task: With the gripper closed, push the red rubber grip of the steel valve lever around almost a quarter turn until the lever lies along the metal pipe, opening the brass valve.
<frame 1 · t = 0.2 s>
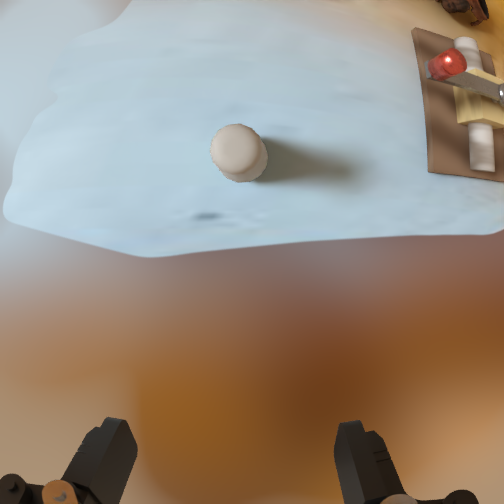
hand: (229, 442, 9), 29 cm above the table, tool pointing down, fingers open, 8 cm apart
pottery mug: (451, 7, 27), on the table
salt shaker: (243, 158, 35), on the table
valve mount: (463, 105, 32), on the table
valve lever: (483, 80, 21), point 12 cm above the table, hinge at 0.0°
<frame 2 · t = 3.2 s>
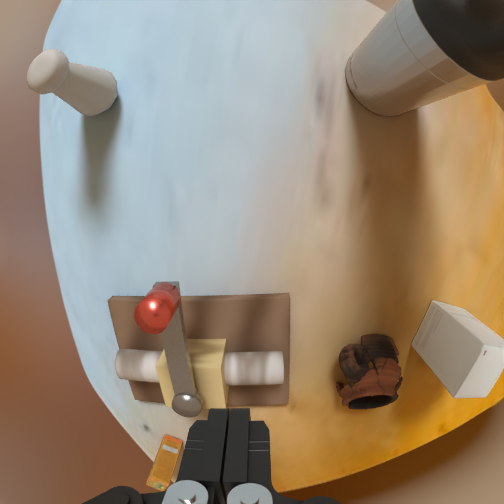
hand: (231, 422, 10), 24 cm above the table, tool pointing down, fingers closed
pottery mug: (360, 358, 37), on the table
salt shaker: (104, 96, 29), on the table
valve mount: (202, 353, 37), on the table
supplement box: (171, 440, 42), on the table
supplement box 2: (437, 326, 36), on the table
valve lever: (172, 367, 24), point 12 cm above the table, hinge at 0.0°
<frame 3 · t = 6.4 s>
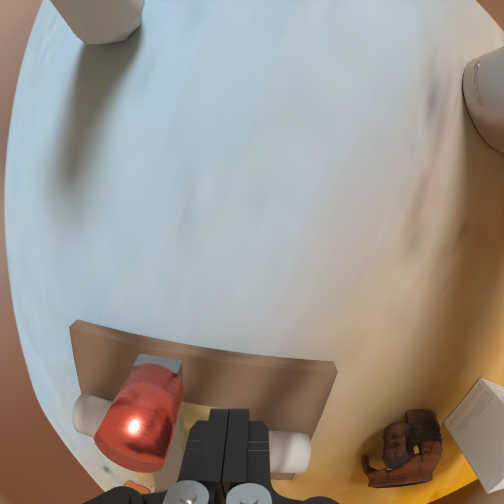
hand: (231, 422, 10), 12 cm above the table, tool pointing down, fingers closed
pottery mug: (395, 433, 26), on the table
salt shaker: (120, 24, 17), on the table
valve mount: (194, 415, 24), on the table
supplement box: (135, 486, 29), on the table
supplement box 2: (473, 403, 25), on the table
valve lever: (160, 480, 12), point 12 cm above the table, hinge at 2.3°, touching gripper
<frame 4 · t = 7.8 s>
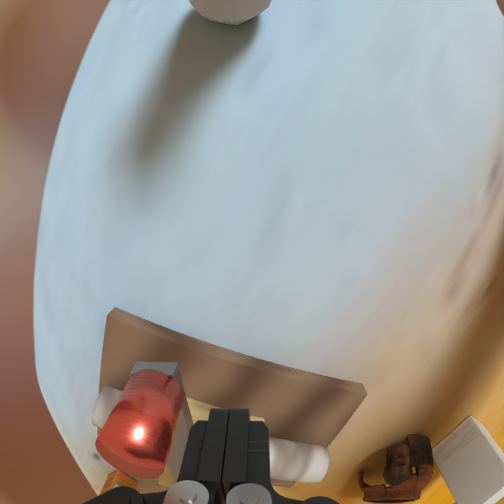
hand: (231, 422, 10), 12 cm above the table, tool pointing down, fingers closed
pottery mug: (391, 453, 27), on the table
salt shaker: (233, 6, 16), on the table
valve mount: (216, 418, 24), on the table
supplement box: (122, 476, 28), on the table
supplement box 2: (457, 437, 27), on the table
valve lever: (180, 486, 12), point 12 cm above the table, hinge at 24.3°, touching gripper
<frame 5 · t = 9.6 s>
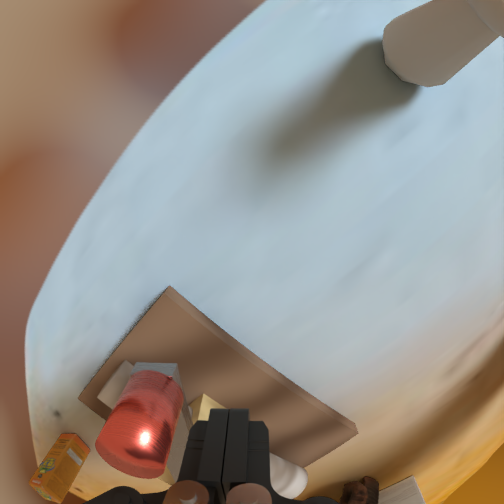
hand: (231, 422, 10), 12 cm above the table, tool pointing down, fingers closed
pottery mug: (343, 488, 29), on the table
salt shaker: (404, 60, 17), on the table
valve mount: (215, 418, 24), on the table
supplement box: (75, 439, 27), on the table
supplement box 2: (393, 491, 30), on the table
valve lever: (180, 486, 12), point 12 cm above the table, hinge at 47.0°, touching gripper
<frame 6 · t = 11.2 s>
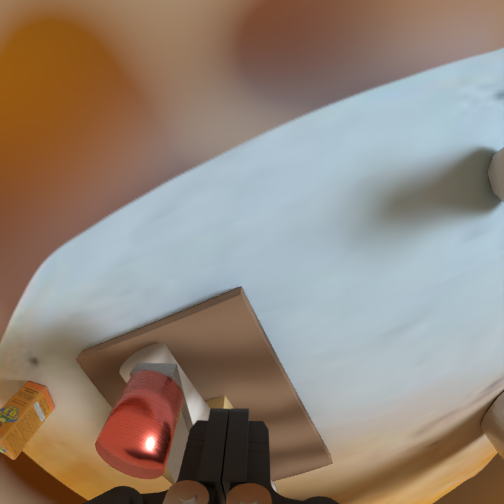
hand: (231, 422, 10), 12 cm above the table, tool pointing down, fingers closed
salt shaker: (499, 175, 19), on the table
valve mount: (214, 418, 24), on the table
supplement box: (41, 391, 25), on the table
valve lever: (179, 486, 12), point 12 cm above the table, hinge at 69.3°, touching gripper
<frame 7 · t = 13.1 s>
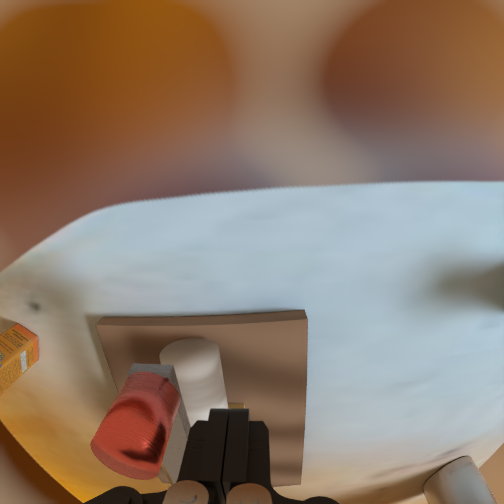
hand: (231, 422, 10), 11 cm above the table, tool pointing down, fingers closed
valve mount: (215, 419, 24), on the table
supplement box: (29, 338, 23), on the table
valve lever: (177, 487, 12), point 12 cm above the table, hinge at 90.3°
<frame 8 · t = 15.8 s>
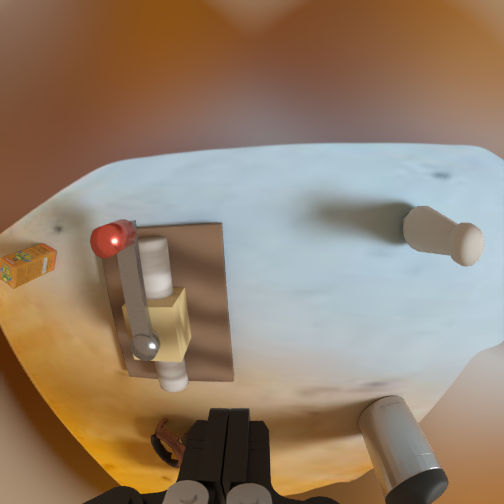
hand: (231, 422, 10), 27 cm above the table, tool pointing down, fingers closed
pottery mug: (189, 429, 45), on the table, touching supplement box 2
salt shaker: (413, 225, 36), on the table
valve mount: (168, 308, 39), on the table
supplement box: (49, 254, 37), on the table
valve lever: (127, 301, 26), point 12 cm above the table, hinge at 90.3°
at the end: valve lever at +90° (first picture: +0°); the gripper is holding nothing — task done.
